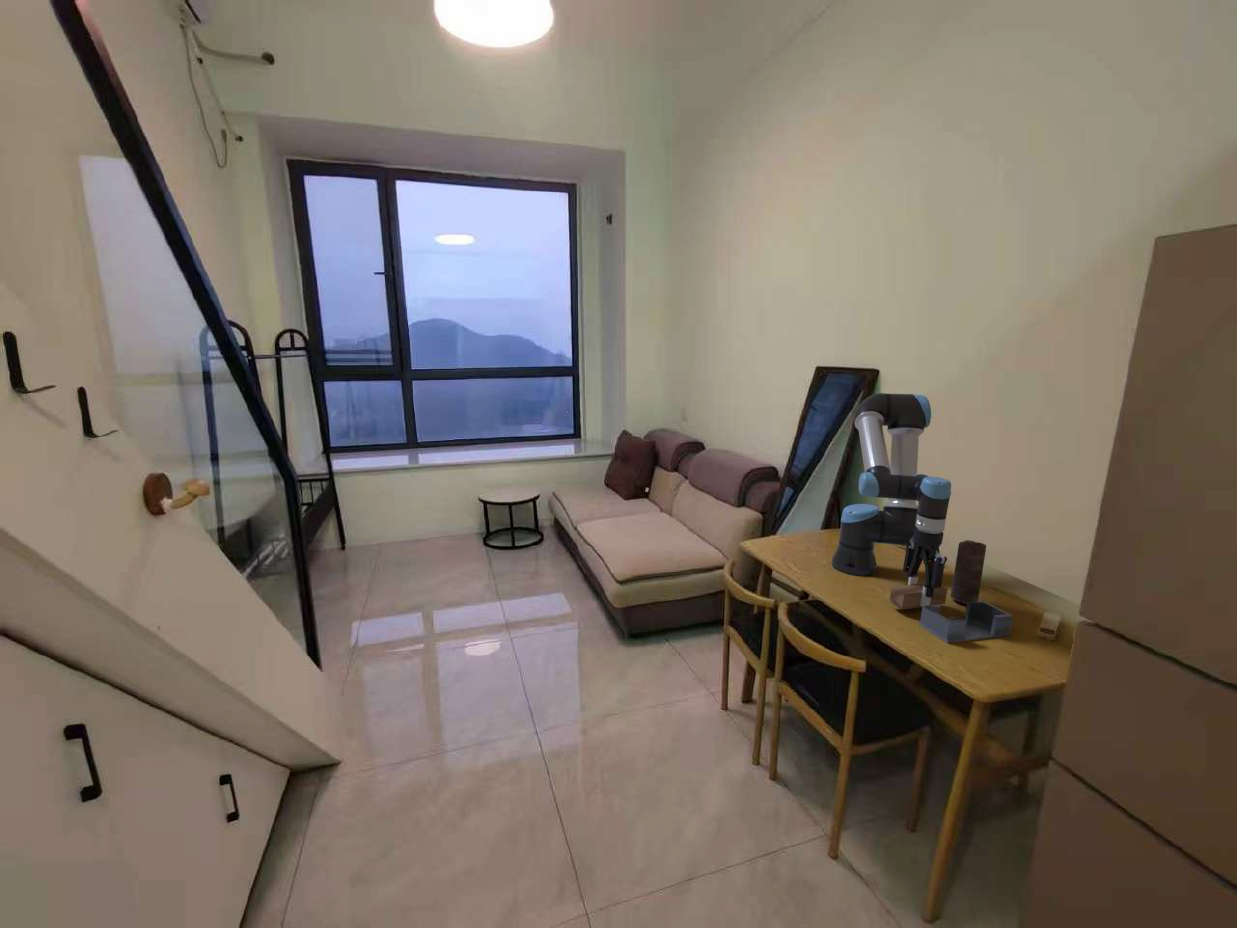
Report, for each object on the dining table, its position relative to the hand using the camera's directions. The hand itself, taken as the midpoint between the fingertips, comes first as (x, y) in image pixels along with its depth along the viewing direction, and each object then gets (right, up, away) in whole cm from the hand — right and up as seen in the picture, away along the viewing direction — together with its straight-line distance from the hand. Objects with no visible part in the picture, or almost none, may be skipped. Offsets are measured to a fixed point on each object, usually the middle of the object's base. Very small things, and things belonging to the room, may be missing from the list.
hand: (917, 600), depth 162 cm
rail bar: (0, -1, 0) cm, 1 cm away
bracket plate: (+6, -5, -12) cm, 14 cm away
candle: (+18, -2, +6) cm, 19 cm away
